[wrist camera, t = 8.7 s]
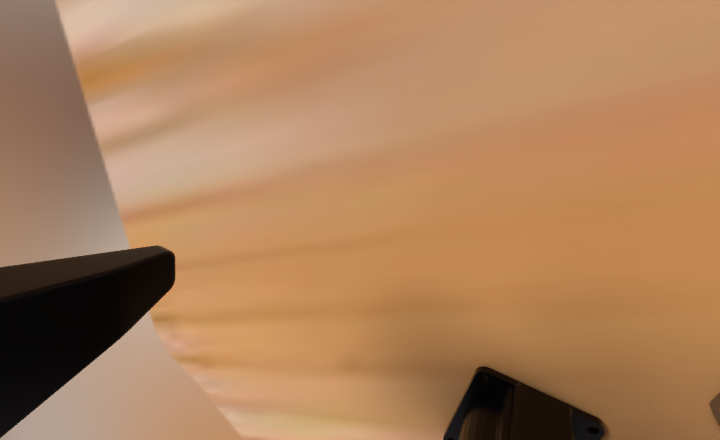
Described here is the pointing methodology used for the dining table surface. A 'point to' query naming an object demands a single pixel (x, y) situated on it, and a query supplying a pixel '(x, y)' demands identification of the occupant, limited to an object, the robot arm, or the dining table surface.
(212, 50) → the dining table surface
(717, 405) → the press base
